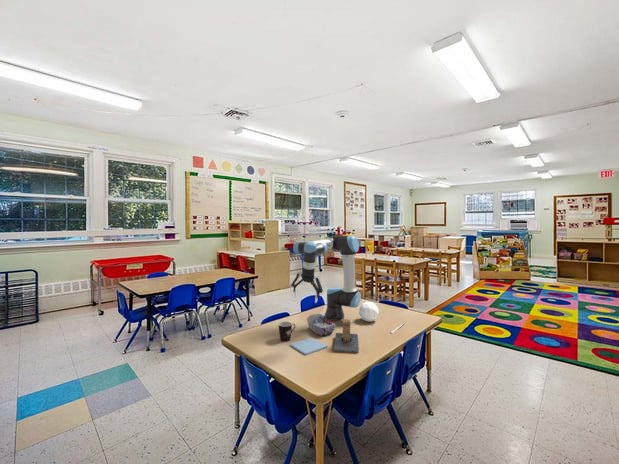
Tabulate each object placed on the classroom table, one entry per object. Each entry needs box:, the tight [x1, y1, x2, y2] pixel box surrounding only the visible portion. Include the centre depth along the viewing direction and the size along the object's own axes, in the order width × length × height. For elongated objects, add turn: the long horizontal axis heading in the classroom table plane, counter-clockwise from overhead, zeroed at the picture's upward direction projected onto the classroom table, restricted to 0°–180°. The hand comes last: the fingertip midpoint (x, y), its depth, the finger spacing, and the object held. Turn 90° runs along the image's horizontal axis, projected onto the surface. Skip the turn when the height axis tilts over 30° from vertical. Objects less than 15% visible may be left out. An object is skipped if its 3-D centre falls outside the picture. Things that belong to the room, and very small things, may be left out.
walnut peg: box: [342, 318, 351, 342], centre depth 176 cm, size 4×4×15 cm
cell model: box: [307, 313, 336, 337], centre depth 197 cm, size 13×11×20 cm
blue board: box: [289, 337, 328, 356], centre depth 174 cm, size 16×16×1 cm
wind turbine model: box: [389, 321, 405, 335], centre depth 206 cm, size 16×2×30 cm
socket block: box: [333, 332, 360, 354], centre depth 176 cm, size 20×14×3 cm
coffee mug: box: [277, 321, 296, 342], centre depth 185 cm, size 12×9×10 cm
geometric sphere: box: [358, 301, 380, 323], centre depth 218 cm, size 14×15×15 cm
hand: (305, 299), depth 180 cm, fingers open, 13 cm apart
